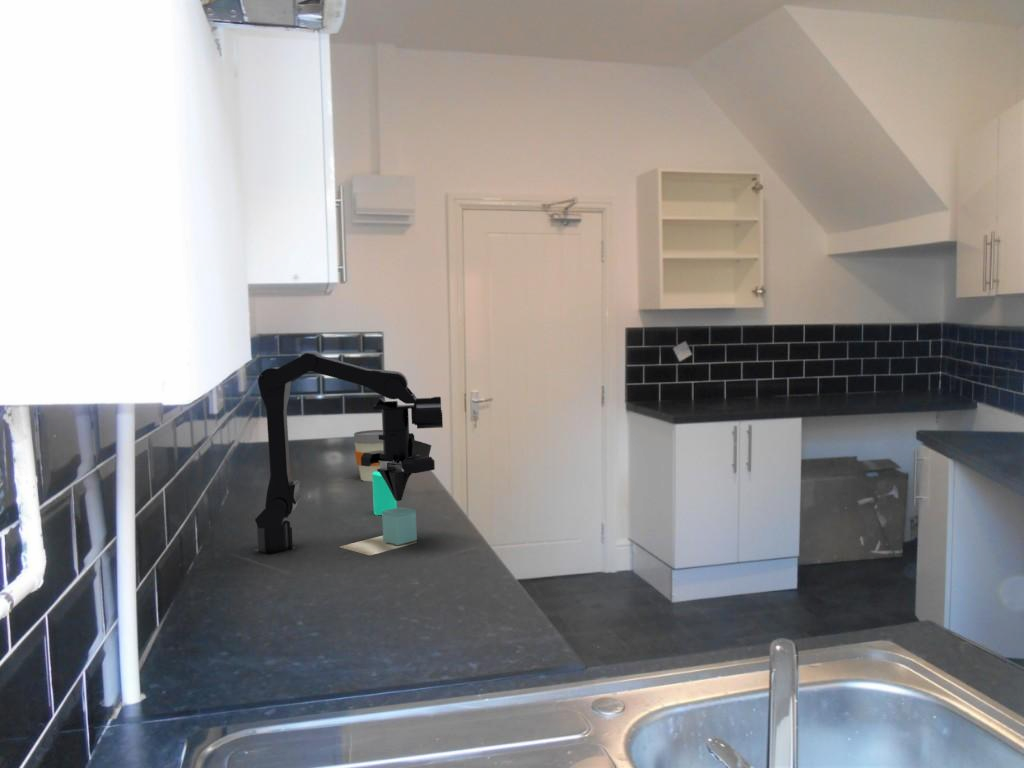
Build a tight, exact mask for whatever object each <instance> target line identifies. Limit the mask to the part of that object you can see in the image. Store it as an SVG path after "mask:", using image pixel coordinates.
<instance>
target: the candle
mask: <svg viewBox="0 0 1024 768" xmlns="http://www.w3.org/2000/svg"><path fill="white" fill-rule="evenodd" d="M371 482H372V497H373V498H372V499H373V501H372V503H373V504H372V505H373V514H375V516H378V515H382V511H386V510H390V509H395V508H398V506H397V505H398V501H396V500H395V499H394V497H393V495H392V493H391V491H390V489H389V487H388V485H387V484H386V482H385V480H384V479H383V477H382V475H381V474H380V472H373V473H372V481H371Z"/></svg>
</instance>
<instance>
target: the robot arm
mask: <svg viewBox="0 0 1024 768" xmlns="http://www.w3.org/2000/svg"><path fill="white" fill-rule="evenodd" d="M310 372H314V373H317V374H321V375H324V376H327V377H331V378H334V379H338V380H341V381H344V382H345V381H346V382H348V383H352V384H357V385H360V386H362V387H365V388H367V389H369V390H371V391H372V392H374V393H376V394H378V395H380V396H382V397H384V398H387V399H389V400H393V401H388V400H386V401H385V400H384V399H383V398H382V397H380V398H378V401H377V402H376V404H374V405H373V406H372V410H373V411H381V423H382V424H381V427H382V430H383V434H381V435H379V440H383V451H382V450H378V451H372V452H366V453H364V454H363V455H362V456H361V465H362V466H371V464H374V463H380V469H377V471H378V472H380V474H381V475H382V477H383V479H384V480H385V482H386V484H387V485H388V487H389V489H390V491H391V493H392V495H393V497H394V499H395V500H396V501H397V502H400V501H402V500H403V497H404V493H405V489H406V486H407V484H408V480H409V478H410V476H411V475H412V474H419V473H424V472H429V471H430V472H431V471H435V469H436V463H435V459H434V458H433V457H432V456H430V454H431V451H432V450H431V449H432V445H431V444H430V443H429V444H428V443H425V442H422V441H419V440H415V434H414V432H412V433H411V432H410V423H409V422H410V420H409V418H410V417H409V409H411V411H410V412H411V413H410V414H411V425H414V426H416V429H440V428H443V426H444V425H443V410H442V398H441V396H432V397H416V395H415V393H413V391H412V390H411V389H410V388H409V382H408V379H407V377H406V376H405V375H404V374H403V373H402V372H400V371H395V370H388V369H387V370H385V369H373V368H368V367H367V368H366V367H363V366H359V365H356V364H352V363H348V362H345V361H342V360H338V359H336V358H335V359H334V358H331V357H328V356H323V355H320V354H318V353H316V352H313V351H310V352H309V351H308V352H305V353H304V352H303V354H302V355H301V356H300V357H297V358H296V359H293V360H291V361H290V362H289V361H288V363H285V364H284V365H282V366H280V367H279V366H275V367H270V368H269V367H268V368H266V369H265V370H263V371H262V372H261V373H260V374H259V375H258V378H257V384H258V389H259V393H260V397H261V400H262V401H261V402H263V405H264V408H265V411H266V412H265V413H266V425H267V439H268V441H267V442H268V458H269V459H268V460H269V474H270V475H269V480H268V484H267V490H266V498H265V508H264V509H263V510H262V511H261V512H260V513H259V514H258V515H257V517H255V519H254V521H255V524H256V533H257V535H256V536H257V548H254V551H256V552H259V553H262V554H265V555H269V556H270V555H274V554H278V553H282V552H285V551H286V552H287V551H292V550H294V549H296V547H294V546H293V545H294V543H293V542H294V538H293V527H291V521H290V520H287V519H288V518H289V516H290V515H291V514H292V512H293V511H294V510H295V509H296V507H297V506H298V504H299V501H300V500H301V499H302V496H301V494H300V483H301V482H300V481H301V480H299V479H296V480H294V479H293V476H292V474H291V464H290V461H291V460H290V448H289V430H288V428H289V427H288V412H287V409H288V403H289V401H290V400H289V399H290V395H291V394H290V393H291V388H292V387H291V386H292V382H295V381H296V380H298V379H300V378H301V377H303V376H305V375H307V374H308V373H310ZM397 400H399V401H400V402H403V403H404V404H400V405H399V402H398V401H397Z"/></svg>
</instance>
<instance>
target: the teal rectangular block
mask: <svg viewBox="0 0 1024 768" xmlns="http://www.w3.org/2000/svg"><path fill="white" fill-rule="evenodd" d="M381 521H382V536H383V541H384V542H388V543H392V544H396V545H400V544H404V543H407V542H411V541H415V542H416V541H417V540H418V536H417V534H418V532H417V510H416V509H411V508H408V507H407V508H406V507H403V506H402V507H401V506H400V507H397V508H395V509H390V510H386V511H382V516H381Z"/></svg>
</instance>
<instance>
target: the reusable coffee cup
mask: <svg viewBox="0 0 1024 768" xmlns="http://www.w3.org/2000/svg"><path fill="white" fill-rule="evenodd" d="M381 434H383V429H372V430H368V429H367V430H361V431H356V432H354V433H353V443H354V447H355V450H354V455H355V460H356V465H358V470H359V471H358V472H359V477H360V481H362V480H363V481H362V482H373V481H372V473H373V472H378V471H377V469H380V463H374V464H371V466H362V465H361V456H362V455H363V454H364V453H366V452H372V451H378V450H382V451H383V440H379V435H381Z"/></svg>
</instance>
